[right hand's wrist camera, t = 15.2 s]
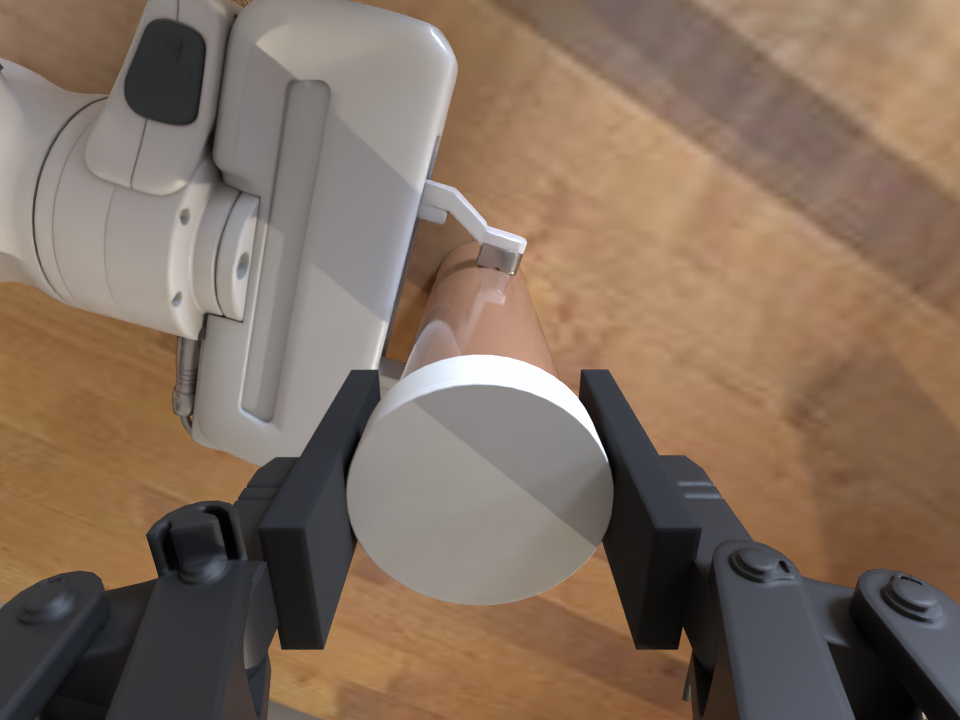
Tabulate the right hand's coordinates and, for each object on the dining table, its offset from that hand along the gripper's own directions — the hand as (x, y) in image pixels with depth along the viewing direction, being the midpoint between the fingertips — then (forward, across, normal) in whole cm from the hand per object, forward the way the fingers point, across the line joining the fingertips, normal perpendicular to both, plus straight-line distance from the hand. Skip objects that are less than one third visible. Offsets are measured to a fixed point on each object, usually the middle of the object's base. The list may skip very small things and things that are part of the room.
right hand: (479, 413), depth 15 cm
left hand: (+9, -1, 0) cm, 9 cm away
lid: (-4, 0, 0) cm, 4 cm away
